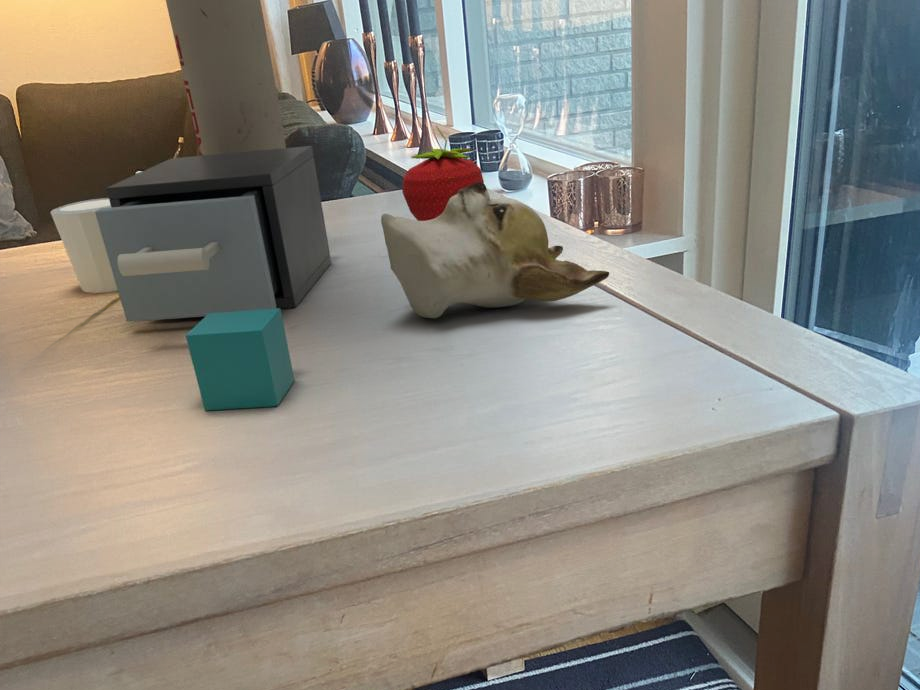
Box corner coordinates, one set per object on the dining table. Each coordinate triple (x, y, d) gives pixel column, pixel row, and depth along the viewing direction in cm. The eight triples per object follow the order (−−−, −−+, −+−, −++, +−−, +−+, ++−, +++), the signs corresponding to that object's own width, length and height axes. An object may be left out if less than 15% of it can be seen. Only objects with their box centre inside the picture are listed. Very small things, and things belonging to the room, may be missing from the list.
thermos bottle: (214, 263, 91) (127, -107, 76) (235, 244, 98) (159, -99, 82) (295, 256, 91) (225, -118, 75) (311, 238, 97) (250, -110, 81)
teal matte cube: (204, 411, 57) (185, 335, 54) (226, 384, 61) (208, 313, 58) (277, 406, 57) (261, 330, 54) (294, 380, 60) (280, 307, 58)
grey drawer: (256, 330, 67) (231, 211, 63) (102, 341, 68) (66, 225, 64) (311, 267, 82) (293, 167, 78) (183, 277, 83) (159, 179, 79)
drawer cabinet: (295, 307, 75) (270, 173, 70) (142, 318, 76) (105, 187, 71) (331, 263, 87) (312, 145, 82) (198, 273, 88) (170, 158, 83)
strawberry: (399, 252, 88) (383, 131, 83) (471, 237, 91) (460, 118, 85) (426, 262, 84) (411, 135, 78) (501, 246, 86) (492, 122, 81)
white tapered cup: (63, 292, 86) (36, 209, 83) (131, 274, 90) (109, 194, 86) (98, 302, 82) (71, 215, 78) (168, 282, 86) (146, 198, 82)
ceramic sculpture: (364, 178, 68) (561, 164, 72) (374, 302, 73) (558, 284, 76) (395, 202, 60) (617, 184, 63) (405, 341, 65) (610, 318, 68)
